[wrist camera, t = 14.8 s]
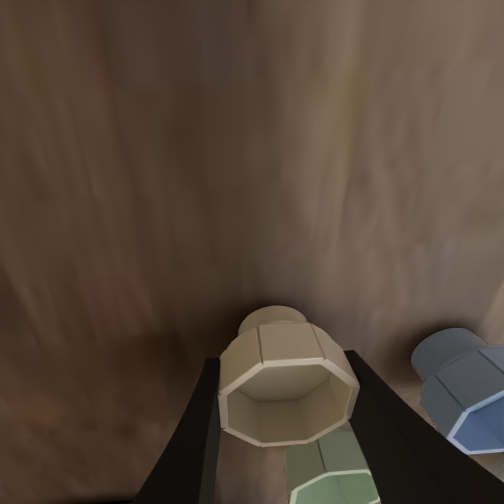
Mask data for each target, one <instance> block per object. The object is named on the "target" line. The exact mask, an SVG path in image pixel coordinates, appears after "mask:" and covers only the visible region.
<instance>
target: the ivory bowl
mask: <svg viewBox="0 0 504 504" xmlns="http://www.w3.org/2000/svg"><path fill="white" fill-rule="evenodd" d="M220 361H221V362H220V377H219V383H218V390H217V398H218V408H219V418H220V427H221V428H222V430H224V431H226V432H228V433H230V434H232V435H234V436H236V437H238V438H241V439H243V440H245V441H247V442H249V443H251V444H253V445H255V446H260V445H261V447H269V446H282V445H295V444H307V443H308V442H313V441H314V440H316V439H318V438H320V437H321V436H323V435H325V434H327V433H328V432H330V431H332V430H334V429H335V428H337V427H339V426H341V425H342V424H344V423H346V422H348V421H349V420H348V419H351V416H352V413H353V410H354V406H355V403H356V400H357V396H358V393H359V390H360V383H359V381H358V379H357V377H356V375H355V373H354V371H353V369H352V367H351V366H350V364H349V362H348V360H347V358H346V356H345V354H344V352H343V350H342V348H341V347H340V346H339V345H338V344H337V343H335V342H334V341H333V340H332V338H331V337H330V336H329V335H328V334H327V333H326V332H325V331H323V330H322V329H321V328H319V327H317V326H315V325H314V324H310V323H308V321H307V319H306V318H305V316H304V315H303V314H301V313H300V312H299V311H297V310H295V309H293V308H290V307H287V306H278V305H275V306H268V307H264V308H261V309H258V310H256V311H254V312H252V313H251V314H250V315H248V316H247V317H246V318H245V319H244V321H243V322H242V324H241V325H240V327H239V330H238V337H237V338H236V339H235V340H233V341H232V343H231V344H230V345H229V346H228V348H227V349H226V350H225V351H224V352H223V353H222V354H221V356H220Z"/></svg>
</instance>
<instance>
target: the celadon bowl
mask: <svg viewBox="0 0 504 504" xmlns="http://www.w3.org/2000/svg"><path fill="white" fill-rule="evenodd" d="M283 470H284V477H285V484H286V491H287V497H288V504H374V503H377V502H379V501H380V498H379V495H378V492H377V489H376V486H375V483H374V481H373V478H372V475H371V472H370V470H369V467H368V465H367V462H366V460H365V457H364V455H363V453H362V450H361V448H360V446H359V443H358V441H357V439H356V436H355V434H354V432H353V429H351V428H350V425H349V423H348V422H346V423H344V424H342V425H341V426H339V427H337V428H335V429H334V430H332V431H330V432H328V433H327V434H325V435H323V436H321V437H320V438H318V439H316V440H314V441H313V442H308V443H307V444H295V445H290V446H289V447H288V448H287V449H286V451H285V453H284V469H283Z"/></svg>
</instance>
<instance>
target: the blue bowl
mask: <svg viewBox="0 0 504 504" xmlns="http://www.w3.org/2000/svg"><path fill="white" fill-rule="evenodd" d="M411 364H412V367H413V368H414V370H415V371H416V372H417V374H418V375H419V376H420V377H421V379H422V380H423V381H424V384H423V387H422V389H421V400H420V402H421V403H420V404H421V405H422V407H423V408H424V410H425V411H426V412H427V414H428V415H429V417H430V418H431V420H432V421H433V422H434V424H435V425H436V427H437V428H438V430H439V431H440V432H441V434H442V435H443V436H444V437H445V438H446V439H447V440H449V441H450V442H451V443H452V444H453V445H455V446H456V447H457V448H459V449H460V450H461V451H462V452H464V453H465V454H466V455H470V454H482V453H494V452H504V345H488V344H487V343H485V342H484V341H483V340H482V339H480V338H479V337H478V336H477V335H475V334H474V333H473V332H472V331H470V330H467V329H464V328H449V329H444V330H441V331H438V332H436V333H434V334H432V335H430V336H428V337H427V338H425V339H424V340H423V341H422V342H421V343H420V344H419V345H418V346H417V347H416V348H415V350H414V351H413V353H412V356H411Z"/></svg>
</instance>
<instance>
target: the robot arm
mask: <svg viewBox="0 0 504 504" xmlns="http://www.w3.org/2000/svg"><path fill="white" fill-rule="evenodd" d="M343 352H344V354H345V356H346V358H347V360H348V362H349V364H350V366H351V367H352V369H353V371H354V373H355V375H356V377H357V379H358V381H359V383H360V390H359V393H358V396H357V400H356V403H355V406H354V410H353V413H352V416H351V419H348V420H349V422H350V425H351V427H352V429H353V432H354V434H355V436H356V439H357V441H358V443H359V446H360V448H361V450H362V453H363V455H364V457H365V460H366V462H367V465H368V467H369V470H370V472H371V475H372V478H373V481H374V483H375V486H376V489H377V492H378V495H379V498H380V501H381V504H504V482H502V481H501V480H500V479H498V478H497V477H495V476H494V475H493V474H491V473H490V472H489V471H487V470H486V469H485V468H483V467H482V466H481V465H479V464H478V463H477V462H475V461H474V460H473V459H471V458H470V457H469V456H467V455H466V454H465V453H464V452H462V451H461V450H460V449H459V448H457V447H456V446H455V445H453V444H452V443H451V442H450V441H449V440H447V439H446V438H445V437H444V436H443V435H441V434H440V433H439V432H438V431H437V430H435V429H434V428H433V427H432V426H431V425H430V424H428V423H427V422H426V421H425V420H424V419H423V418H422V417H421V416H419V415H418V414H417V413H416V412H415V411H414V410H413V409H412V408H411V407H410V406H409V405H407V404H406V403H405V402H404V401H403V400H402V399H401V398H400V397H399V396H398V395H397V394H396V393H395V392H394V391H393V390H392V389H391V388H390V387H389V386H388V385H387V384H386V383H385V382H384V381H383V380H382V379H381V378H380V377H379V376H378V375H377V374H376V373H375V372H374V371H373V370H372V369H371V368H370V367H369V366H368V364H367V363H366V362H365V361H364V360H363V359H362V358H361V357H360V356H359V355H358V354H357V353H356V352H355V351H354V350H347V351H343ZM220 362H221V361H220V357H218V358H207V359H206V360H205V363H204V366H203V369H202V372H201V375H200V378H199V380H198V383H197V385H196V388H195V390H194V392H193V394H192V397H191V399H190V401H189V403H188V406H187V408H186V410H185V412H184V414H183V416H182V418H181V420H180V422H179V424H178V426H177V428H176V430H175V431H174V433H173V435H172V437H171V439H170V441H169V443H168V444H167V446H166V448H165V450H164V451H163V453H162V455H161V457H160V458H159V460H158V462H157V463H156V465H155V467H154V468H153V470H152V471H151V473H150V475H149V476H148V478H147V479H146V481H145V483H144V484H143V486H142V487H141V489H140V491H139V492H138V494H137V495H136V497H135V498H134V500H133V501H132V503H131V504H214V490H215V478H216V468H217V459H218V450H219V442H220V433H221V427H220V418H219V408H218V398H217V390H218V383H219V377H220Z"/></svg>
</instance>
